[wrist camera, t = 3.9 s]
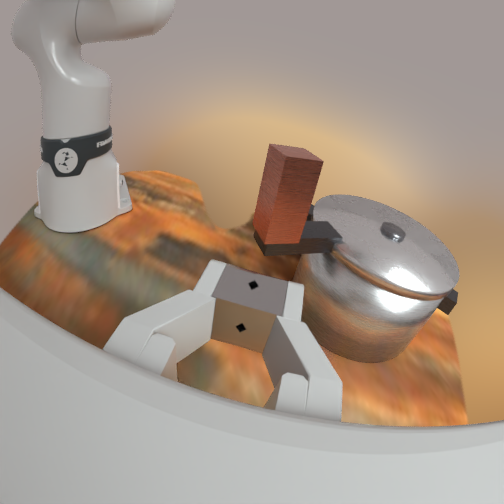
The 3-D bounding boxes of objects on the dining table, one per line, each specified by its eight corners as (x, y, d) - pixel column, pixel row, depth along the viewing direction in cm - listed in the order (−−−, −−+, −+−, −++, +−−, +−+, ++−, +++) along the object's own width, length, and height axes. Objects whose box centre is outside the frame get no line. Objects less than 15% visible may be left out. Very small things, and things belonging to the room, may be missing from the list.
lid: (389, 207, 39) (408, 158, 34) (475, 286, 25) (508, 228, 21) (228, 197, 30) (241, 123, 26) (302, 335, 16) (356, 215, 12)
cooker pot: (429, 313, 36) (463, 261, 30) (397, 397, 24) (455, 338, 18) (296, 230, 48) (312, 176, 43) (219, 268, 36) (229, 197, 30)
